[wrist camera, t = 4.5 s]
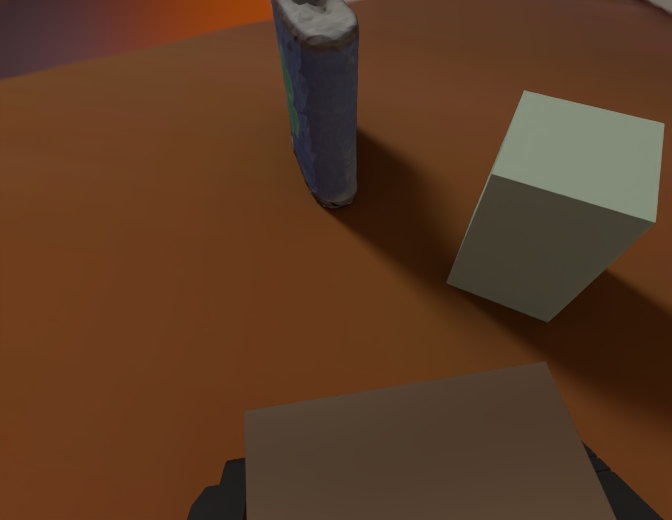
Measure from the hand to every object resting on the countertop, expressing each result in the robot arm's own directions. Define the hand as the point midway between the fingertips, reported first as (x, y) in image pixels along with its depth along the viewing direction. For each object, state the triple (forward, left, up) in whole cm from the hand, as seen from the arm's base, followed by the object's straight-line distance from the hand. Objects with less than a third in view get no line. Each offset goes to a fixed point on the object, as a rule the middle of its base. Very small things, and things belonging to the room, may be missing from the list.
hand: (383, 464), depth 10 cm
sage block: (+11, +1, -4) cm, 12 cm away
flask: (+11, +13, -5) cm, 17 cm away
